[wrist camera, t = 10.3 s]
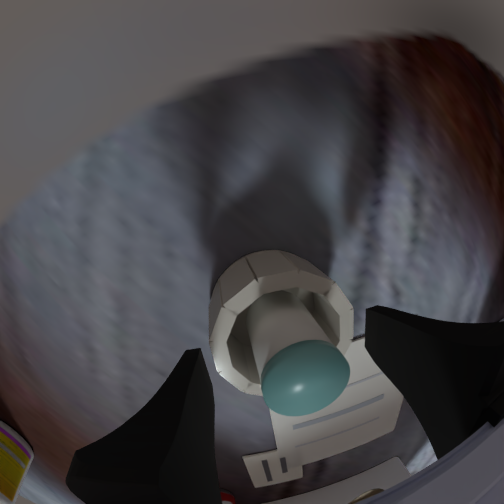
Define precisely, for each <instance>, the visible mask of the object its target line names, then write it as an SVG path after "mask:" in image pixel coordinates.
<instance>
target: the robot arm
mask: <svg viewBox="0 0 504 504" xmlns="http://www.w3.org/2000/svg"><path fill="white" fill-rule="evenodd" d="M364 347H365V348H366V350H367V352H368V353H369V355H370V357H371V358H372V360H373V361H374V363H375V364H376V365H377V366H378V367H379V368H380V370H381V371H382V372H383V373H384V374H385V375H386V377H387V378H388V379H389V380H390V381H391V382H392V383H393V384H394V386H395V387H396V388H397V389H398V390H399V391H400V392H401V394H402V395H403V396H404V398H405V399H406V400H407V402H408V403H409V405H410V406H411V408H412V410H413V411H414V413H415V414H416V416H417V418H418V419H419V421H420V423H421V425H422V426H423V428H424V430H425V432H426V434H427V436H428V438H429V440H430V442H431V445H432V447H433V449H434V452H435V454H436V457H437V459H438V460H437V461H436V462H434V463H433V464H431V465H429V466H428V467H426V468H425V469H423V470H421V471H420V472H418V473H416V474H415V475H413V476H411V477H409V478H408V479H406V480H404V481H402V482H400V483H398V484H396V485H394V486H393V487H391V488H389V489H386V490H384V491H382V492H380V493H378V494H376V495H374V496H371V497H369V498H367V499H365V500H362V501H360V502H357V503H355V504H504V318H503V319H502V320H500V321H499V322H492V323H456V322H447V321H441V320H435V319H431V318H426V317H422V316H418V315H414V314H410V313H406V312H403V311H399V310H396V309H392V308H388V307H384V306H378V305H377V306H374V307H371V308H367V309H366V325H365V346H364ZM214 418H215V404H214V395H213V387H212V383H211V380H210V377H209V374H208V371H207V367H206V364H205V361H204V358H203V354H202V351H201V348H197V349H191V350H186V351H185V352H184V354H183V355H182V357H181V358H180V360H179V362H178V363H177V365H176V366H175V368H174V369H173V371H172V372H171V374H170V375H169V377H168V378H167V380H166V381H165V382H164V384H163V385H162V386H161V388H160V389H159V390H158V391H157V393H156V394H155V395H154V396H153V397H152V398H151V400H150V401H149V402H148V403H147V404H146V405H145V406H144V407H143V408H142V409H141V410H140V411H139V412H137V413H136V414H135V415H134V416H133V417H131V418H130V419H129V420H128V421H126V422H125V423H124V424H123V425H121V426H120V427H119V428H117V429H116V430H114V431H113V432H111V433H110V434H108V435H106V436H105V437H103V438H101V439H99V440H98V441H96V442H94V443H92V444H89V445H87V446H85V447H83V448H81V449H79V450H76V452H75V454H74V457H73V459H72V462H71V465H70V468H69V471H68V474H67V477H66V484H67V486H68V488H69V489H70V491H71V492H72V493H74V494H75V495H76V496H77V497H78V498H79V499H81V500H82V501H83V502H84V503H86V504H222V499H221V494H220V488H219V482H218V476H217V469H216V461H215V451H214Z"/></svg>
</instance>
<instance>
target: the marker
mask: <svg viewBox="0 0 504 504" xmlns="http://www.w3.org/2000/svg"><path fill="white" fill-rule="evenodd" d="M246 326H247V330H248V334H249V338H250V342H251V346H252V350H253V354H254V358H255V362H256V365H257V369H258V373H259V377H260V386H261V390H262V394H263V398H264V401H265V403H266V404H267V406H268V407H269V408H270V409H271V410H273V411H274V412H276V413H278V414H281V415H285V416H303V415H308V414H311V413H314V412H317V411H319V410H321V409H323V408H325V407H327V406H328V405H330V404H331V403H332V402H334V401H335V400H336V399H337V398H338V397H339V396H340V395H341V394H342V392H343V391H344V389H345V388H346V386H347V384H348V381H349V378H350V366H349V363H348V361H347V360H346V358H345V357H344V356H343V354H342V353H341V352H340V350H339V349H338V348H337V347H336V346H335V345H333V343H332V342H331V341H330V339H329V338H328V337H327V335H326V334H325V333H324V331H323V330H322V328H321V327H320V326H319V324H318V323H317V322H316V320H315V319H314V318H313V316H312V315H311V314H310V312H309V311H308V310H307V308H306V307H305V306H304V304H303V303H302V302H301V300H300V299H299V298H298V297H297V296H295V295H294V294H292V293H290V292H287V291H283V290H280V291H275V292H270V293H265V294H263V295H262V296H260V297H259V298H258V299H257V300H255V301H254V302H253V303H252V304H250V307H249V309H248V312H247V315H246Z"/></svg>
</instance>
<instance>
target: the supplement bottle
mask: <svg viewBox="0 0 504 504" xmlns="http://www.w3.org/2000/svg"><path fill="white" fill-rule="evenodd" d="M33 457H34V454H33V451H32V449H31V447H30V446H29V444H28V443H27V442H26V441H25V440H24V439H23V438H22V437H21V436H20V435H19V434H18V433H17V432H16V431H15V430H13V429H12V428H11V427H10V426H8V425H7V424H5V423H4V422H2V421H0V504H15V502H16V499H17V496H18V493H19V491H20V488H21V486H22V483H23V481H24V478H25V476H26V473H27V471H28V469H29V466H30V464H31V462H32V460H33Z"/></svg>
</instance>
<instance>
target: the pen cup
mask: <svg viewBox="0 0 504 504" xmlns="http://www.w3.org/2000/svg"><path fill="white" fill-rule="evenodd" d="M280 290H283V291H287V292H290V293H292V294H294V295H295V296H297V297H298V298H299V299H300V300H301V302H302V303H303V304H304V306H305V307H306V308H307V310H308V311H309V312H310V314H311V315H312V316H313V318H314V319H315V320H316V322H317V323H318V324H319V326H320V327H321V328H322V330H323V331H324V333H325V334H326V335H327V337H328V338H329V339H330V341H331V342H332V343H333V345H335V346H336V347H337V348H338V349H339V350H340V352H341V353H342V354H343V356H344V355H345V353H346V352H347V350H348V348H349V346H350V344H351V343H352V339H353V307H352V305H351V304H350V302H349V301H348V299H347V298H346V297H345V295H344V294H343V292H342V291H341V289H340V288H339V287H338V285H337V284H336V282H334V281H333V280H332V279H331V278H329V277H328V276H327V275H325V274H324V273H323V272H322V271H320V270H319V269H318V268H316V267H315V266H314V265H313V264H311V263H310V262H309V261H307V260H305V259H303V258H300V257H298V256H296V255H294V254H292V253H289V252H286V251H281V250H262V251H257V252H253V253H250V254H248V255H245V256H243V257H241V258H240V259H238V260H236V261H235V262H234V263H232V264H231V265H230V266H229V267H228V268H227V269H226V270H225V271H224V272H223V273H222V275H221V276H220V278H219V279H218V281H217V282H216V285H215V287H214V289H213V293H212V297H211V302H210V304H209V344H210V348H211V351H212V355H213V358H214V362H215V365H216V369H217V372H219V374H220V375H221V376H222V377H223V378H225V379H226V380H227V381H228V382H230V383H231V384H232V385H234V386H235V387H236V388H237V389H239V390H240V391H241V392H243V391H244V393H248V394H253V395H259V396H263V394H262V390H261V386H260V377H259V373H258V369H257V365H256V362H255V358H254V354H253V350H252V346H251V342H250V338H249V334H248V330H247V326H246V315H247V312H248V309H249V307H250V304H252V303H253V302H254V301H255V300H257V299H258V298H259V297H260V296H262V295H263V294H265V293H270V292H275V291H280Z"/></svg>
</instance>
